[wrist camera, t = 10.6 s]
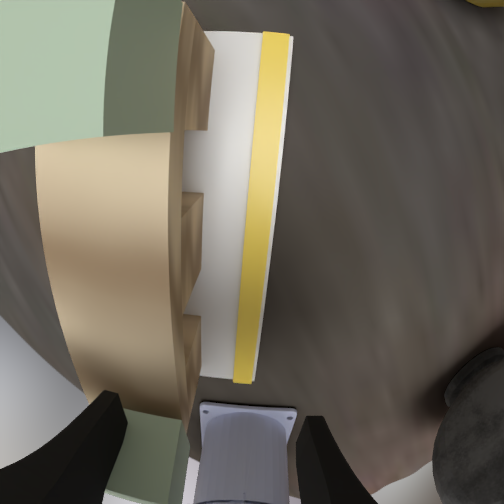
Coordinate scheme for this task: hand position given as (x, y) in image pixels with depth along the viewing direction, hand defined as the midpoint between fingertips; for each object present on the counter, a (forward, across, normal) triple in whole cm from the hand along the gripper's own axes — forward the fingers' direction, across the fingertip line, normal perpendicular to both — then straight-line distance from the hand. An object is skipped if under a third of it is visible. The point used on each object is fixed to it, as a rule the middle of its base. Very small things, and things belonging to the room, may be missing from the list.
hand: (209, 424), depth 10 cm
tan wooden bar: (+7, +4, -5) cm, 10 cm away
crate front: (+1, +4, -12) cm, 12 cm away
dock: (+9, +4, -5) cm, 11 cm away
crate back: (+1, +3, +3) cm, 5 cm away
